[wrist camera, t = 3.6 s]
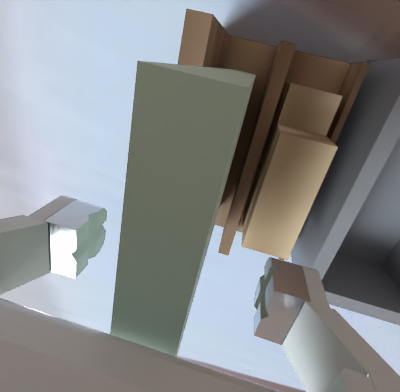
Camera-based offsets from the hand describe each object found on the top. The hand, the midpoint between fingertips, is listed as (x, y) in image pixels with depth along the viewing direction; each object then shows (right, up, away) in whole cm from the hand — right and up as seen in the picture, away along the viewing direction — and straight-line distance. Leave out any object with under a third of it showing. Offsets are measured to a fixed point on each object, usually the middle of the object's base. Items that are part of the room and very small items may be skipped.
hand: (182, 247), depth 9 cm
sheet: (+3, +6, +13) cm, 15 cm away
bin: (+15, +3, +13) cm, 20 cm away
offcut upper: (+6, +3, +10) cm, 13 cm away
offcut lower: (+7, +5, +13) cm, 15 cm away
